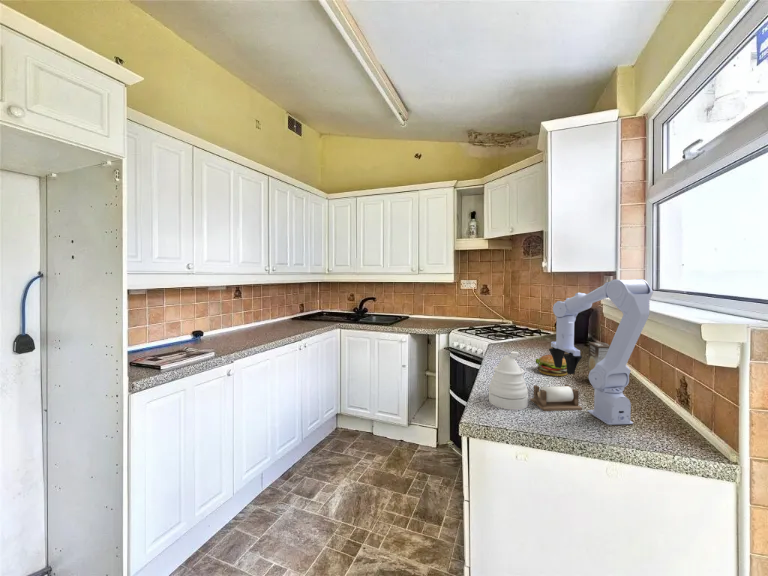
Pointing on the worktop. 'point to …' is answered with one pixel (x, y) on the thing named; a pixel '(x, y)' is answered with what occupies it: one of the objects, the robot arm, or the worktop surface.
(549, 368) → the food
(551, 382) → the worktop surface
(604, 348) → the coffee box
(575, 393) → the holder
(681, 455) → the worktop surface
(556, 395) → the paper roll
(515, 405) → the honey pot
